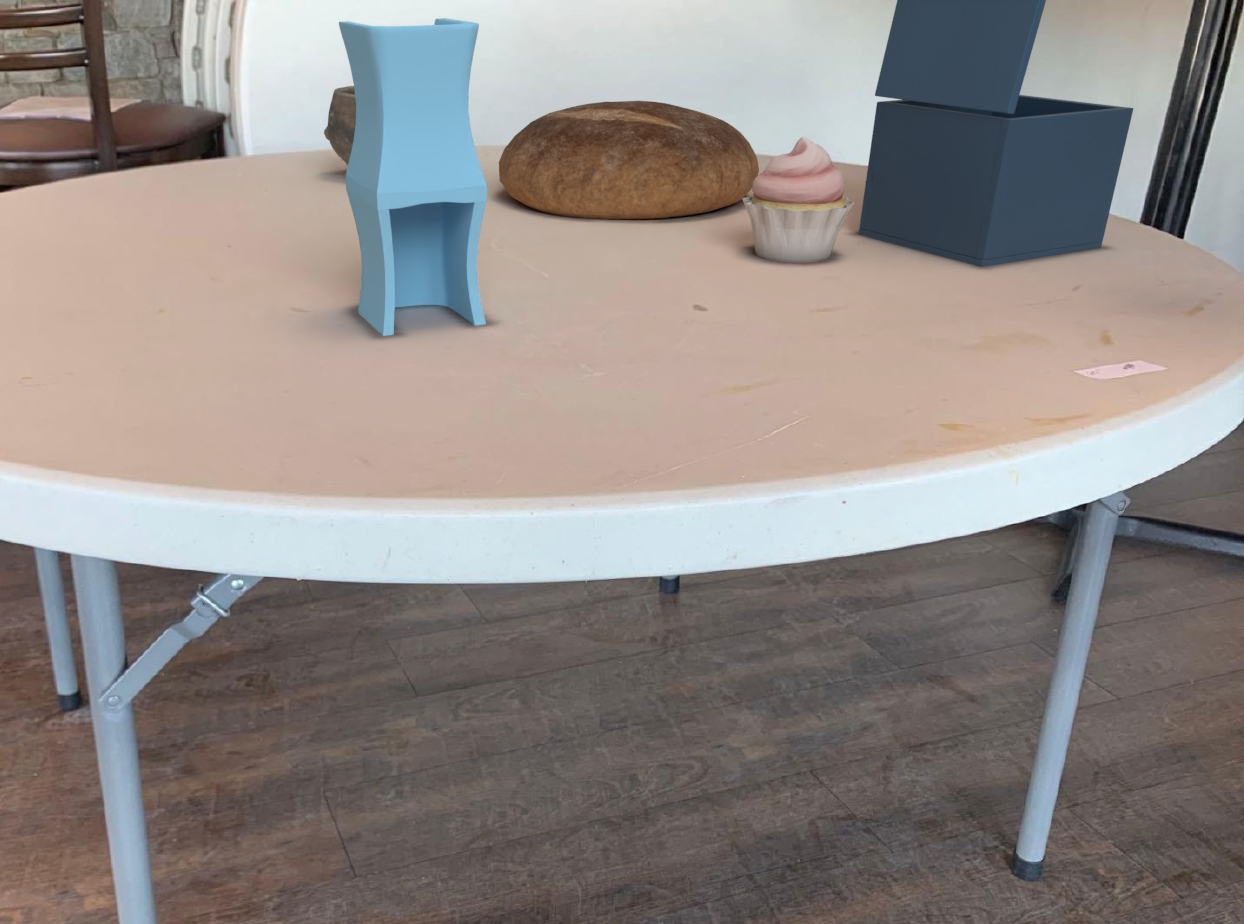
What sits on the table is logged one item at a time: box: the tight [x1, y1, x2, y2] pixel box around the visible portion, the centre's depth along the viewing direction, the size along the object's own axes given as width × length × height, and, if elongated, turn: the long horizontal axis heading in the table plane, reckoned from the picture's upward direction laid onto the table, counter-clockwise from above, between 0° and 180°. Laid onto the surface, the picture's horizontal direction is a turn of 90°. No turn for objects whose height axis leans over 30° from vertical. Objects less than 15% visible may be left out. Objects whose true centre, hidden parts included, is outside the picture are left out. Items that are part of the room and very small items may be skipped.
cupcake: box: [742, 136, 855, 264], centre depth 104 cm, size 9×9×10 cm
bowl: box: [323, 85, 356, 166], centre depth 142 cm, size 14×15×10 cm
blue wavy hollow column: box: [338, 17, 488, 337], centre depth 86 cm, size 8×8×20 cm
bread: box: [498, 100, 760, 220], centre depth 128 cm, size 26×27×10 cm
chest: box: [858, 94, 1134, 268], centre depth 108 cm, size 15×15×12 cm
